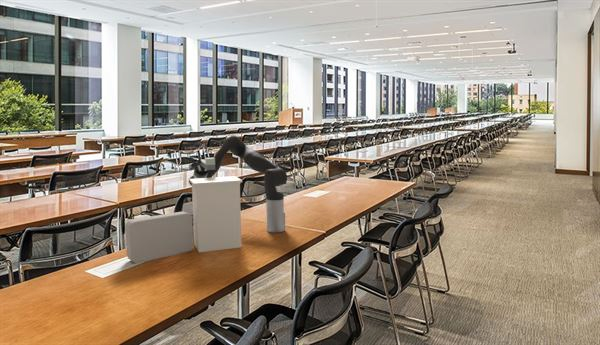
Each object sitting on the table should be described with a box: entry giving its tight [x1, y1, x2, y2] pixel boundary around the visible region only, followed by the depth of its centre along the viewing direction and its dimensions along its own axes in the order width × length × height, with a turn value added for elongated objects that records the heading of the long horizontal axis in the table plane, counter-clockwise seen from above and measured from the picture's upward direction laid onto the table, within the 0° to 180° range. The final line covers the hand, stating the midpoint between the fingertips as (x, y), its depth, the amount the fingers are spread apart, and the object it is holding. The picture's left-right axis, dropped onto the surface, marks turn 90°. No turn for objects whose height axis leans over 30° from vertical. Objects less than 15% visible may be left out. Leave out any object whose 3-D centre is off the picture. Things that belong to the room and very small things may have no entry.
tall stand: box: [188, 175, 243, 253], centre depth 213 cm, size 22×14×32 cm, turn 111°
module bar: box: [200, 157, 215, 170], centre depth 230 cm, size 4×24×6 cm, turn 21°
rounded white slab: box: [124, 211, 194, 264], centre depth 201 cm, size 29×8×18 cm, turn 129°
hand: (204, 160), depth 237 cm, fingers closed on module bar, 4 cm apart
